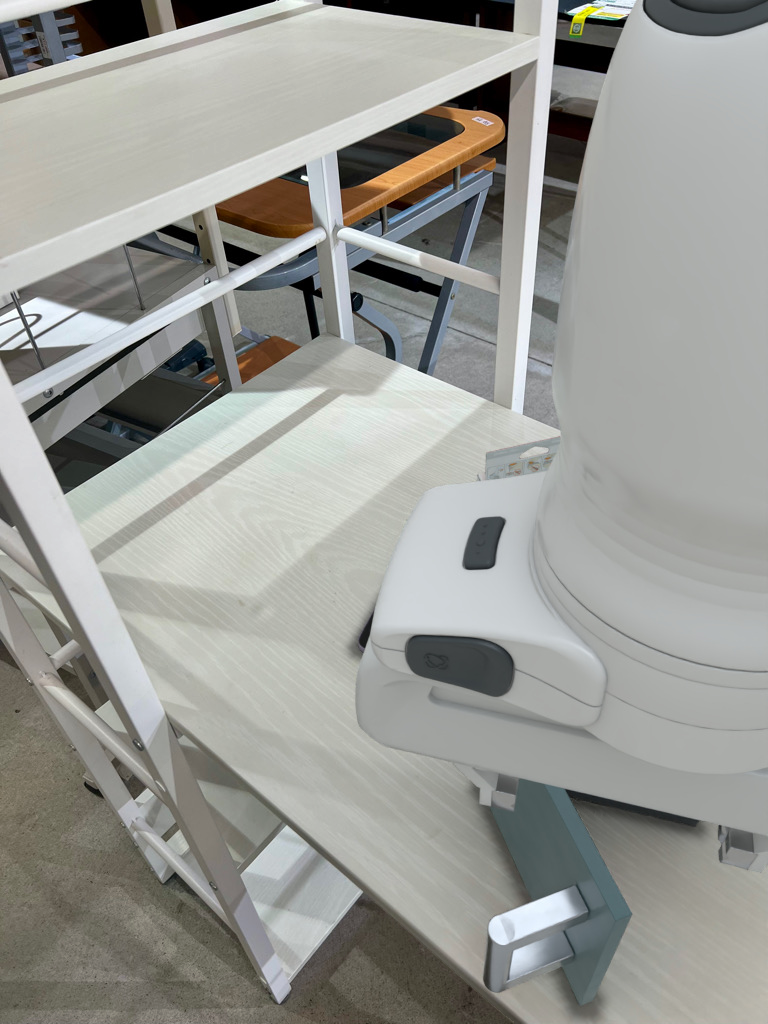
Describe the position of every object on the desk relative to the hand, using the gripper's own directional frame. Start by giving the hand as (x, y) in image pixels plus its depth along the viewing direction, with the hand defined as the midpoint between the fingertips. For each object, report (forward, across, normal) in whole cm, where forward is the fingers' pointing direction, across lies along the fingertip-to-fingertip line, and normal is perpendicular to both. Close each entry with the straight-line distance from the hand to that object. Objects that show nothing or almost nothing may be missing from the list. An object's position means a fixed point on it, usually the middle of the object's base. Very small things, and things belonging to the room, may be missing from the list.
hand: (614, 820), depth 31 cm
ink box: (+27, +9, -48) cm, 56 cm away
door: (+27, +5, -5) cm, 28 cm away
